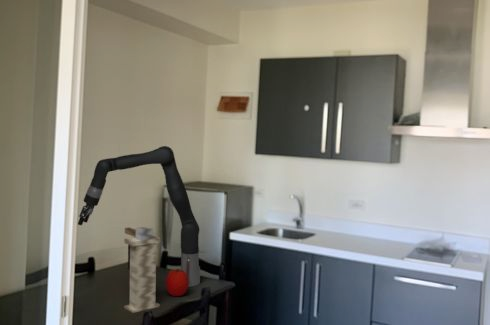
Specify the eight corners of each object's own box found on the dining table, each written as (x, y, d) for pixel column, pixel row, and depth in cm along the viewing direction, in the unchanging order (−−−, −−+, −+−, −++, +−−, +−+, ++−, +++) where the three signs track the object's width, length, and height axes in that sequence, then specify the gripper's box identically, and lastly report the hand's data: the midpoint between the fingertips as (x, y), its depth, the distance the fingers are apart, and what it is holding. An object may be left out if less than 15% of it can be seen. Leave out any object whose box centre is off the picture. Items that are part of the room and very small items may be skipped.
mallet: (132, 232, 250) (132, 221, 250) (152, 239, 235) (152, 228, 235) (121, 233, 246) (121, 223, 246) (141, 240, 232) (141, 229, 231)
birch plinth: (150, 301, 246) (151, 235, 244) (159, 306, 240) (160, 238, 238) (123, 307, 237) (124, 238, 235) (132, 312, 231) (132, 241, 229)
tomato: (176, 289, 265) (177, 264, 264) (193, 295, 257) (194, 269, 256) (159, 295, 256) (159, 268, 255) (176, 300, 248) (176, 273, 247)
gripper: (96, 199, 264) (84, 228, 265) (103, 195, 279) (92, 223, 280) (82, 194, 264) (71, 223, 265) (90, 190, 278) (79, 218, 279)
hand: (82, 223), depth 272 cm, fingers open, 8 cm apart
